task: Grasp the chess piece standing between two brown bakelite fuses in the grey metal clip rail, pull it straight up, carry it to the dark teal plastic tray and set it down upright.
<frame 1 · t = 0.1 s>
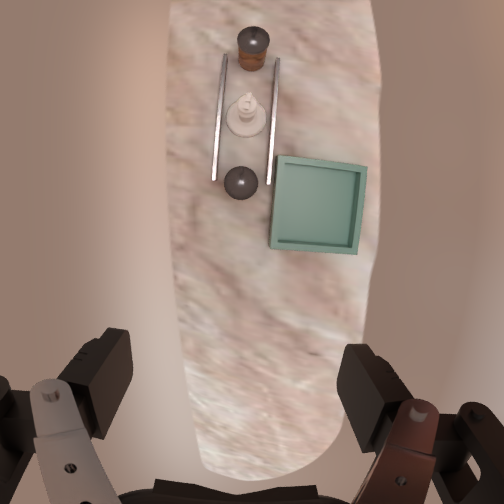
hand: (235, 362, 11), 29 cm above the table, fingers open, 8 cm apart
clip rail: (246, 118, 36), on the table
chess piece: (246, 118, 36), resting in clip rail
tray: (315, 204, 39), on the table
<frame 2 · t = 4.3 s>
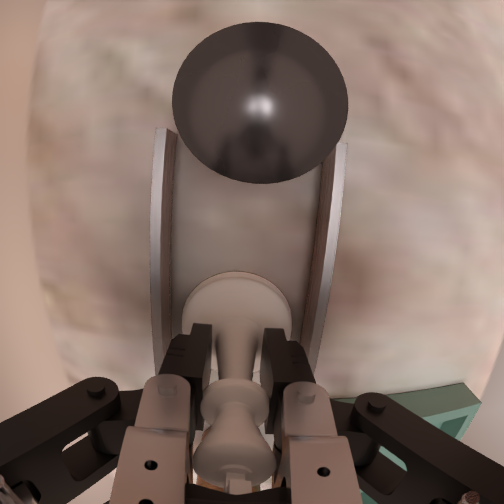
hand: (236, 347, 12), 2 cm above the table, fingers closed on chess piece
clip rail: (236, 323, 14), on the table
chess piece: (236, 321, 14), resting in clip rail, touching gripper
tray: (370, 453, 17), on the table
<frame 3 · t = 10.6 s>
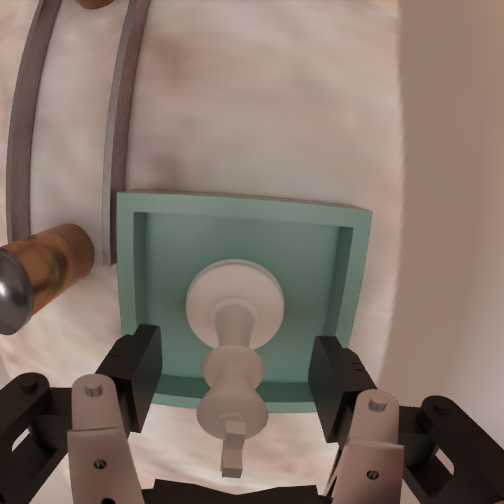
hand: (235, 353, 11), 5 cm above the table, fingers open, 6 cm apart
clip rail: (75, 107, 13), on the table
chess piece: (235, 304, 16), resting on tray
tray: (237, 302, 16), on the table
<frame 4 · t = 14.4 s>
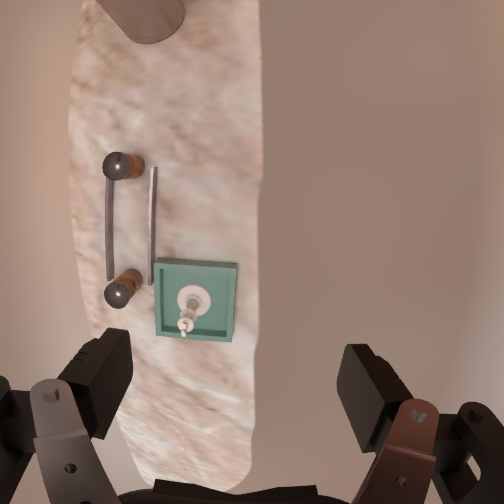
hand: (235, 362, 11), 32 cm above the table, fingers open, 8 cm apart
clip rail: (131, 224, 41), on the table
chess piece: (194, 298, 44), resting on tray
tray: (195, 297, 44), on the table
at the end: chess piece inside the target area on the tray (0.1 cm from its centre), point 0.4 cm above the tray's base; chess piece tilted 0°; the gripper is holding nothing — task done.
